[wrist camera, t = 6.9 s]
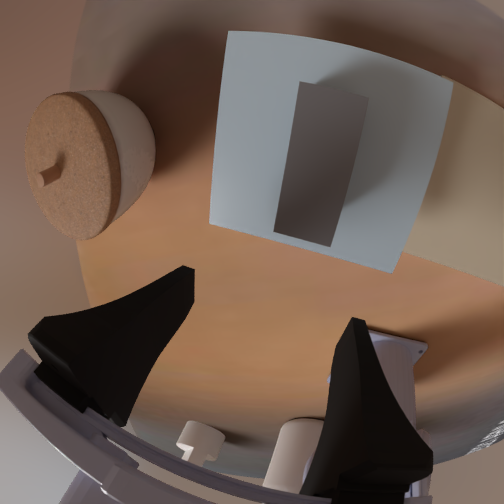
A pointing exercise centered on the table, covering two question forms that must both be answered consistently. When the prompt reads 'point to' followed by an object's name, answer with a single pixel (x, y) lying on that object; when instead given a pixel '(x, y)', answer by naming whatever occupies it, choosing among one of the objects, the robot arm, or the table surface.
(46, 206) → the lidded jar
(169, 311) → the robot arm
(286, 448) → the wine bottle
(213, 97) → the table surface
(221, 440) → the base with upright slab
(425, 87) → the cover
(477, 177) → the mat
